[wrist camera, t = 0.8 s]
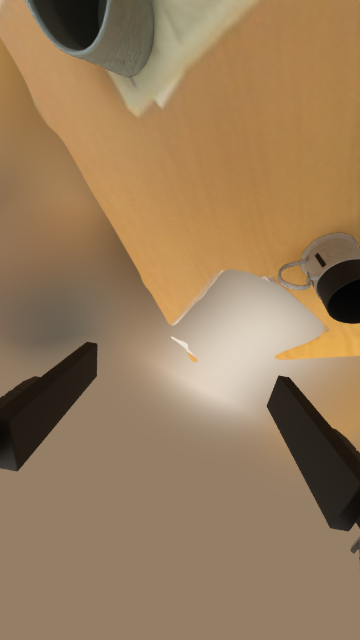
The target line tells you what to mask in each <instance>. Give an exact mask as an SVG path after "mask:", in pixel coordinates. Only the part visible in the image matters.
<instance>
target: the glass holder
mask: <svg viewBox="0 0 360 640" xmlns="http://www.w3.org/2000/svg"><path fill="white" fill-rule="evenodd" d="M296 265H300V267H301V269H302V271H303V272H304V273H305V274H306V275H307V276H308V277H307V279H306V283H307V285H303V286H302V285H294V284H290V283H288V282H286V281H284V280H283V279H282V277H281V272H282V271H283V270H284V269H286V268H289V267H292V266H296ZM278 281H279V283H280V284H282V285H283V286H285V287H287V288H290V289H294V290H306V289H308V288H309V287H310V285H311V283H312V285H313V287H314V289H315V291H316V293H317V295H318V297H319V298H320V299H321V300H322V302H323V304H324V306H325V308H326V310H327V312H328V313H329V315H330V316H331V317H332V318H333V319H335V320H337V321H339V322H343V323H350V324H357V323H360V247H359V246H358V244H357V242H356V240H355V239H354V238H353V237H352V236H350V235H348V234H345V233H332V234H328V235H324V236H322V237H320V238H318V239H316V240H315V241H313V242H312V243H311V244H310V245H309V246H308V247H307V248H306V249H305V250H304V252H303V254H302V256H301V259H300V261H296V262H292V263H288V264H285V265H284V266H282V268H281V269H280V270H279V272H278Z"/></svg>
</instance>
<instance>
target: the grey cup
mask: <svg viewBox="0 0 360 640" xmlns="http://www.w3.org/2000/svg"><path fill="white" fill-rule="evenodd" d="M25 1H26V3H27V5H28V7H29V9H30V11H31V13H32V15H33V17H34V18H35V20H36V22H37V24H38V25H39V26H40V28H41V29H42V31H43V32H44V34H45V35H46V36H47V37H48V38H49V39H50V41H51V42H52V43H53V44H54V45H55V46H56V47H58V48H59V49H60V50H61V51H63V52H65V53H66V54H69V55H71V56H74V57H76V58H79V59H82V60H86V61H88V62H91V63H94V64H99V65H100V66H102V67H104V68H107V69H108V70H110V71H113V72H115V73H117V74H119V75H122V76H126V77H128V76H133V75H136V74H137V73H139V72H140V71H141V70H142V68H143V67H144V66H145V64H146V62H147V60H148V58H149V55H150V52H151V48H152V42H153V33H154V19H153V8H152V2H151V0H25Z"/></svg>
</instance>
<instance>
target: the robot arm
mask: <svg viewBox="0 0 360 640" xmlns="http://www.w3.org/2000/svg"><path fill="white" fill-rule="evenodd" d="M96 376H97V344H96V343H91V342H86V343H85V344H84V345H82V346H81V347H80V348H78V349H77V350H76V351H74V352H73V353H72V354H70V355H69V356H68V357H66V358H65V359H64V360H63V361H62V362H60V363H59V364H58V365H56V366H55V367H54V368H52V369H51V370H50V371H48V372H47V373H46V374H44V375H43V376H42V377H36V376H35V377H32V378H30V379H28V380H26V381H23V382H22V383H21V384H19V385H18V386H16V387H15V388H14V389H13V390H11V391H9V392H8V393H6V394H5V396H2V397H1V398H0V468H2V469H8V470H13V471H18V470H19V469H20V468H21V467H22V466H23V464H24V463H25V462H26V461H27V459H28V458H29V457H30V456H31V455H32V453H33V452H34V451H35V450H36V448H37V447H38V446H39V445H40V444H41V443H42V441H43V440H44V439H45V438H46V437H47V435H48V434H49V433H50V432H51V431H52V429H53V428H54V427H55V426H56V425H57V423H58V422H59V421H60V420H61V418H62V417H63V416H64V415H65V414H66V412H67V411H68V410H69V409H70V407H71V406H72V405H73V404H74V403H75V402H76V400H77V399H78V398H79V396H81V394H82V393H83V392H84V391H85V390H86V388H87V387H88V386H89V385H90V384H91V382H92V381H93V380H94V379H95V377H96ZM267 408H268V410H269V412H270V413H271V416H272V417H273V419H274V421H275V423H276V425H277V427H278V429H279V430H280V433H281V435H282V437H283V438H284V440H285V442H286V444H287V446H288V448H289V449H290V452H291V454H292V456H293V458H294V460H295V461H296V463H297V465H298V467H299V469H300V471H301V473H302V475H303V477H304V478H305V481H306V483H307V485H308V486H309V488H310V490H311V492H312V494H313V496H314V498H315V500H316V502H317V504H318V506H319V507H320V509H321V511H322V513H323V515H324V517H325V519H326V521H327V523H328V525H329V527H330V528H333V529H338V530H344V531H349V530H350V529H351V528H352V526H353V525H354V524H355V523H357V525H358V526H359V528H360V453H359V451H357V450H356V448H355V447H354V446H353V445H352V444H351V442H350V441H349V440H348V439H347V438H346V437H345V436H343V435H342V434H341V433H340V432H338V431H337V430H336V429H333V428H332V427H331V426H330V425H329V424H328V423H327V422H326V420H325V419H324V418H323V417H322V416H321V414H320V413H319V412H318V411H317V410H316V408H314V406H313V405H312V404H311V403H310V401H309V400H308V399H307V398H306V397H305V395H303V393H302V392H301V391H300V390H299V388H298V387H297V386H296V385H295V384H294V382H293V381H292V380H291V379H290V378H289V377H284V376H278V378H277V381H276V384H275V386H274V389H273V391H272V394H271V397H270V399H269V401H268V404H267ZM358 549H359V552H360V537H359V538H358V539H357V541H356V542H355V543H354V544H353V545H352V547H351V552H353V553H355V552H356V551H357V550H358ZM359 558H360V557H359Z"/></svg>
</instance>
